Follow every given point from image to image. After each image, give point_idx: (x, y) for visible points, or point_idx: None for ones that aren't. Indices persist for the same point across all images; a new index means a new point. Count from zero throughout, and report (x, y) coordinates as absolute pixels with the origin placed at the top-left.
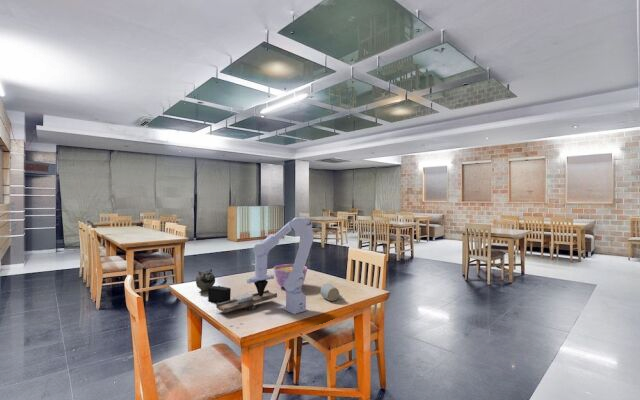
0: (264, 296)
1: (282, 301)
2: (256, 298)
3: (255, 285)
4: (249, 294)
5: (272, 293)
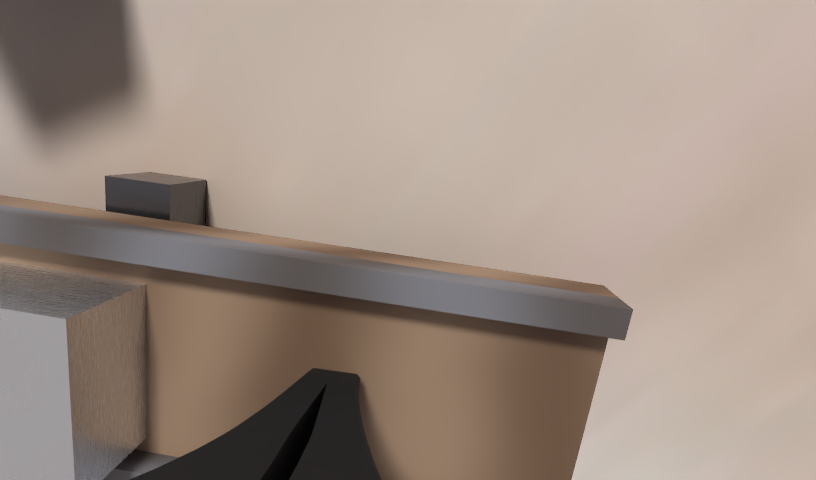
0: (382, 436)
1: (623, 444)
2: (241, 398)
3: (144, 478)
4: (57, 403)
5: (573, 440)
